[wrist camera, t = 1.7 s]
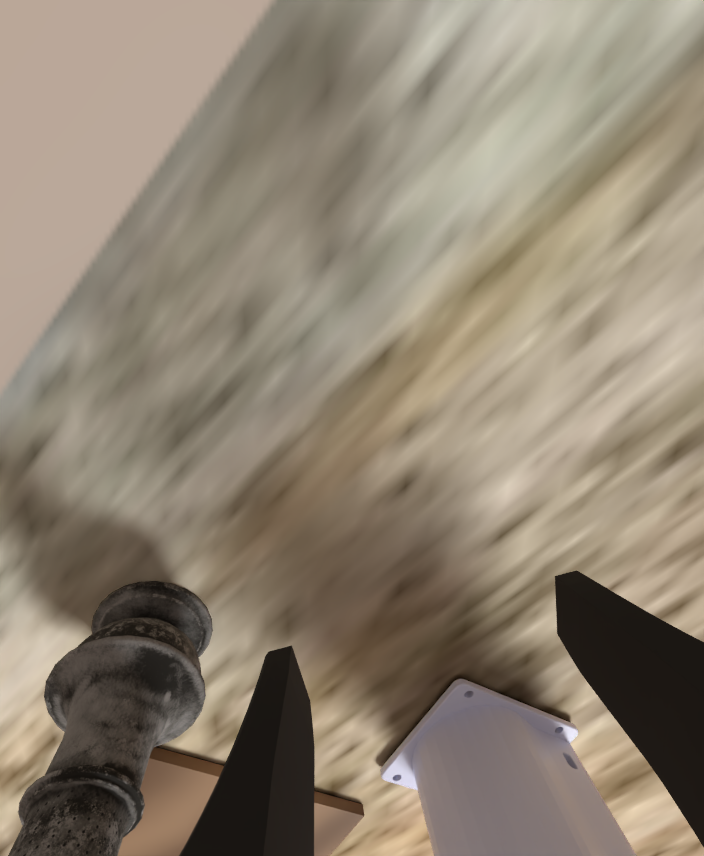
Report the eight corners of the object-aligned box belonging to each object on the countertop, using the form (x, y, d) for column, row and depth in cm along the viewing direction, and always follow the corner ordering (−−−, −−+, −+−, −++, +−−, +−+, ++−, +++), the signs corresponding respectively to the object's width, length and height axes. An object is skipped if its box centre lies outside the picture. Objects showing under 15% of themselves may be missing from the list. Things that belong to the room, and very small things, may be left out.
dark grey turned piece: (86, 675, 21) (-158, 1150, 9) (84, 571, 19) (-221, 1007, 8) (214, 677, 22) (130, 1109, 10) (224, 579, 20) (135, 972, 9)
